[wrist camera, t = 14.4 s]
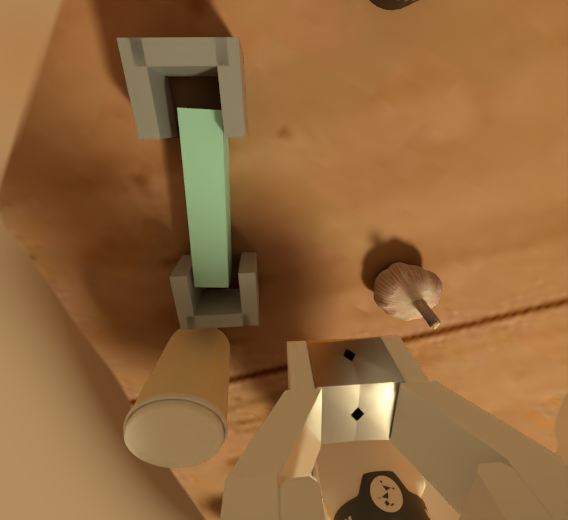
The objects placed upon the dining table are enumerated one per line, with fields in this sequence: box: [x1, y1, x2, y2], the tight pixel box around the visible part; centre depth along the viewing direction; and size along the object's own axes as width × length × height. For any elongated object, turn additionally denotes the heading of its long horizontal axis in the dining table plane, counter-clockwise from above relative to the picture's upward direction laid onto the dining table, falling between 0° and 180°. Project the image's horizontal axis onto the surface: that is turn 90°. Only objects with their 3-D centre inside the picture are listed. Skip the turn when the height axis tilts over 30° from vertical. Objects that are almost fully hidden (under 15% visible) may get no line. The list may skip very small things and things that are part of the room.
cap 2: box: [169, 252, 259, 330], centre depth 30 cm, size 6×8×5 cm
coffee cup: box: [124, 328, 230, 468], centre depth 31 cm, size 9×9×12 cm
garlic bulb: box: [374, 262, 442, 329], centre depth 31 cm, size 8×7×8 cm
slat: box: [177, 108, 232, 288], centre depth 27 cm, size 16×3×4 cm, turn 177°
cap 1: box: [116, 37, 248, 140], centre depth 23 cm, size 6×8×5 cm
